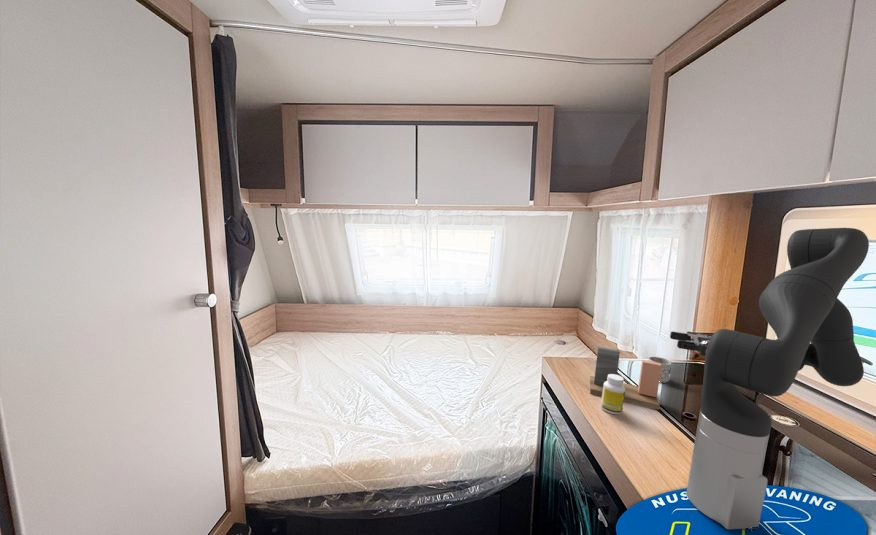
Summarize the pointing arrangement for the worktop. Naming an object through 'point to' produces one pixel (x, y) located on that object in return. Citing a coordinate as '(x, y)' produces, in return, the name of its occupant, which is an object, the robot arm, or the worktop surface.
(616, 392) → the supplement bottle
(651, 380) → the orange rectangular block
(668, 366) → the mug
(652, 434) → the worktop surface
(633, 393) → the stand
